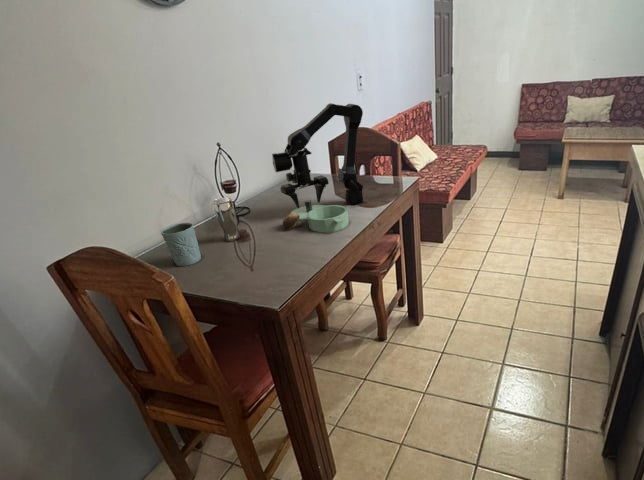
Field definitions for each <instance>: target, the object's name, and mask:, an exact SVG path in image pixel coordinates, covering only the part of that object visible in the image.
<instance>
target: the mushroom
mask: <svg viewBox="0 0 644 480" xmlns="http://www.w3.org/2000/svg"><path fill="white" fill-rule="evenodd" d="M299 217H300V216H299V215H298V214H290V213H289V214H287V215H286V216H284V219H283V220H282V226H283V228H284V230H285V231H290V230H292V229H297V228H298V227H300V226H301V225H302V222H300V221H299V220H298V219H299Z"/></svg>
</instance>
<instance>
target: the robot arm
mask: <svg viewBox="0 0 644 480" xmlns="http://www.w3.org/2000/svg"><path fill="white" fill-rule="evenodd" d="M363 112H364V111H363V108H362V107H361V105H359V104H356V103H355V104H354V103H348V104H345V105H342V104H335V103H327V104H326V106H325V107H324V108H323V109H322V110H321V111H320V112H318V113H317V114H316V115H315V116H314V117H313V118H312V119H311V120H310V121H309V122H307V123H306V124H305V125H304V126H302V127H301V128H298V129H296V130H294V131H293V132H291V133H290V134H289V135H288V136H287V144H286V146H285V149H284V151H283V152H278V153H276V152H275V153H271V156H272V166H273V170H274V172H275V173H280V172H285V171H290V170H291V169H292V168H293V171H292V172H293V173H292V172H288V173H286V174H285V176H286V181H287V182H292V184H291V183H286V184H282V185H280V192H281V193H282V194H284V195H285V196H289V197H290V199H291V200H292V201H293V203H294V205H295V207H296V209H297V208H298V209H299V208H300V203H299V198H298V193H297V192H296V190H300V189H304V188H308V187H311V186H314V188H315V196H316V202H317V203H318V204H319V203H321V199H322V195H323V192H324V189H325V188H327V185H329V184H330V183H329V179H328V178H327V176H324V175H316V176H314V177H313V179H312V178H311V173H312V172H311V171H312V170H311V169H310V166H309V161H308V155H312V151H310V150H308V148H307V145H308V144H309V143H310V140H311V138H312V137H313V136H314V135H315V134H317V132H318V131H319V130H320V129H321V128H323V127H324V126H325V125H326V124H327V123H328V122H329V121H330V120H331V119H332V118H334V117H335V116H339V117H343V121H344V126H345V139H344V153H343V164H342V167H341V168H340V167H338V168H337V170H338V171H337V172H338V175H337V179H338V182H339V183H340V185H341V186H343V187H344V189H345V194H344V195H345V196H344V197H345V204H346V205H349V206H351V207H355V206H357V205H361V204H365V203H366V201H365V200H364V197H363V188H364V185H363V184H361V183H360V182H358V178H357V177H358V176H357V171H356V167H355V166H356V165H355V163H356V153H357V151H356V149H357V139H358V129H359V127H360V125H361V122H362V118H363V114H364V113H363Z"/></svg>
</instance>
